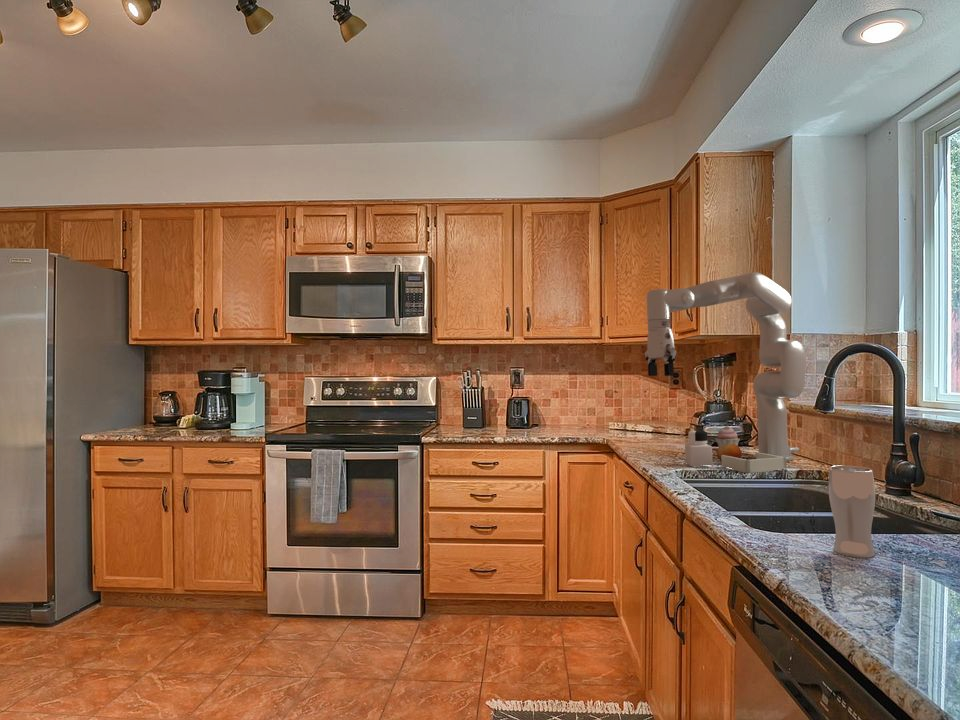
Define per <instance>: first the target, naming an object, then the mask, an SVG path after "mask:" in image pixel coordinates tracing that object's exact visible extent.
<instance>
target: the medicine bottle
mask: <svg viewBox="0 0 960 720" xmlns="http://www.w3.org/2000/svg"><path fill="white" fill-rule="evenodd" d="M684 455H685V456H684V457H685V459H684V460H685V464H686V463H687V464H689V465H690V466H701V465H702V466H703V465H712V466H713V446H712V445H710V444H708V432H707V431H705V430H701V429H700V430H699V429H697V430H696V429H692V430H690V431H688V443H685V444H684ZM687 464H686V465H687ZM689 465H688V466H689ZM690 466H689V467H690Z"/></svg>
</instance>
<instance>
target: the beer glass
mask: <svg viewBox="0 0 960 720" xmlns="http://www.w3.org/2000/svg"><path fill="white" fill-rule="evenodd" d="M873 473H874V472H873V469H872V468H869V467H866V466H865V467H864V466H859V465H858V466H857V465H832V466H829V467H828V497H829V498H828V499H829V505H830V509H831V513H832V517H833V521H834V527H835V539H834V545H833V551H834V552H835V553H837V554H838V555H842V556H846V557H851V558H858V559H869V558H874V556H875V555H876V554H875V549H874V544H873V540H872V527H873V526H872V525H873V519H874V513H875V508H876V507H875V506H876V489H875V487H876V486H875V479H874V474H873Z"/></svg>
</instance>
